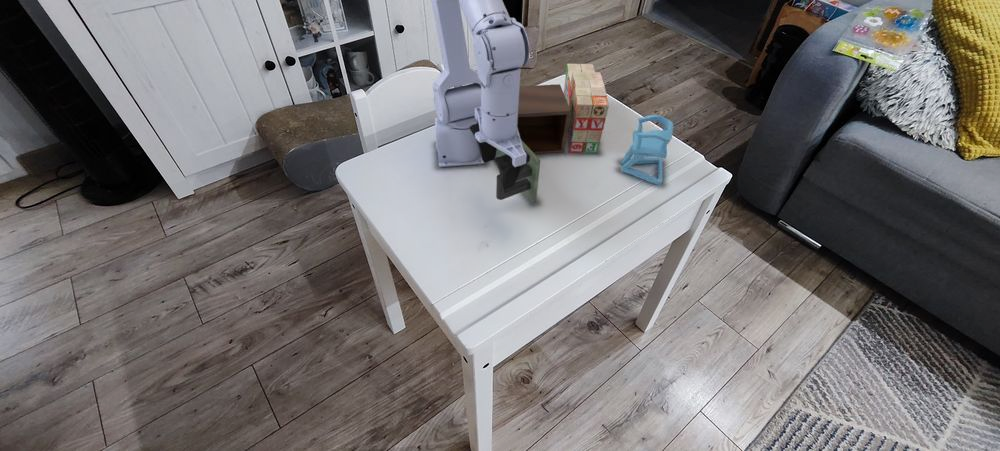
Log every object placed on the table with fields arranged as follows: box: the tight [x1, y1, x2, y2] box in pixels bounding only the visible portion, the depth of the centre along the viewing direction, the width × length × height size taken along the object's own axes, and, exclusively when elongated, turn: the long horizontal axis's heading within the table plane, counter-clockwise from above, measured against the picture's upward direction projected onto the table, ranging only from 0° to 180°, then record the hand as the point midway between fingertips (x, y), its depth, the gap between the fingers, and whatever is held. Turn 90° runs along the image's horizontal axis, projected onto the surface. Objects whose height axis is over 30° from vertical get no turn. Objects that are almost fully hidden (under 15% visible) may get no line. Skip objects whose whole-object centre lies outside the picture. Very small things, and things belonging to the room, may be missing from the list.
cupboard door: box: [495, 140, 541, 204], centre depth 87 cm, size 8×15×10 cm, turn 29°
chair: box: [620, 114, 674, 186], centre depth 90 cm, size 8×8×12 cm
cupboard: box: [517, 83, 571, 156], centre depth 97 cm, size 10×15×11 cm
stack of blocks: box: [563, 63, 610, 154], centre depth 101 cm, size 21×6×12 cm, turn 179°
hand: (498, 173), depth 80 cm, fingers open, 7 cm apart
